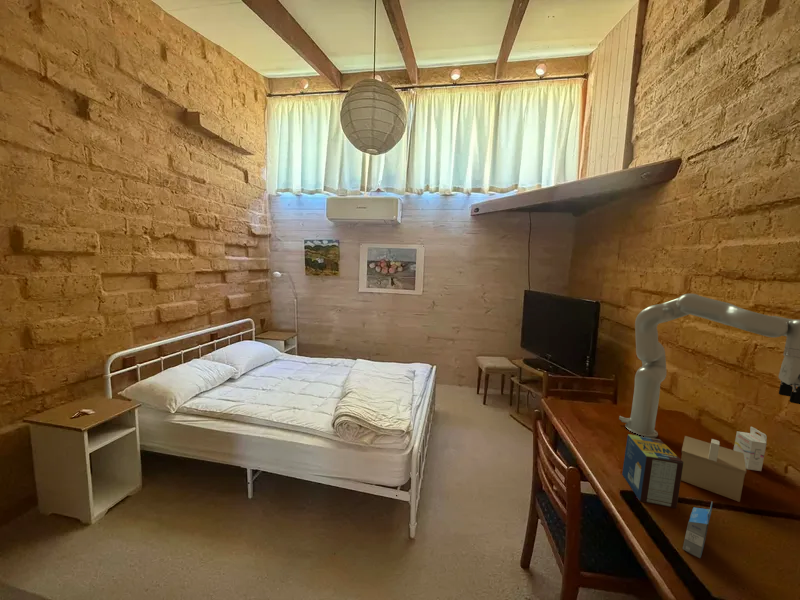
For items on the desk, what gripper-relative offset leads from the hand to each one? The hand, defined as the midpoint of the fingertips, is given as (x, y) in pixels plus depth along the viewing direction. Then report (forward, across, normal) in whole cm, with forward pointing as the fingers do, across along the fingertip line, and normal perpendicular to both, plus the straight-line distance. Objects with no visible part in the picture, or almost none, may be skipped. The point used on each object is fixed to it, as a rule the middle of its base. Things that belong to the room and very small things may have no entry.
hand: (790, 399), depth 127 cm
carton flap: (+20, +21, -23) cm, 37 cm away
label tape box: (+31, +64, -33) cm, 78 cm away
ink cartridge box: (+31, -5, -7) cm, 32 cm away
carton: (+31, +20, -22) cm, 43 cm away
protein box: (+31, +42, -42) cm, 67 cm away
